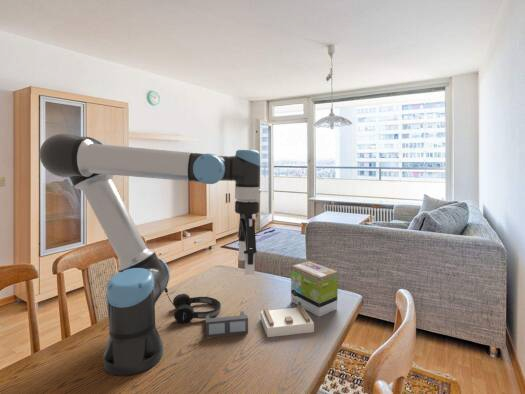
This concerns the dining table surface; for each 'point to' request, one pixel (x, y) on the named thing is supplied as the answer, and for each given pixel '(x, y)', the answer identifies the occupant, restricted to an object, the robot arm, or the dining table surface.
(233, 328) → the glasses
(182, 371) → the dining table surface
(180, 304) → the headset
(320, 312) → the tea box
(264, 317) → the stand
